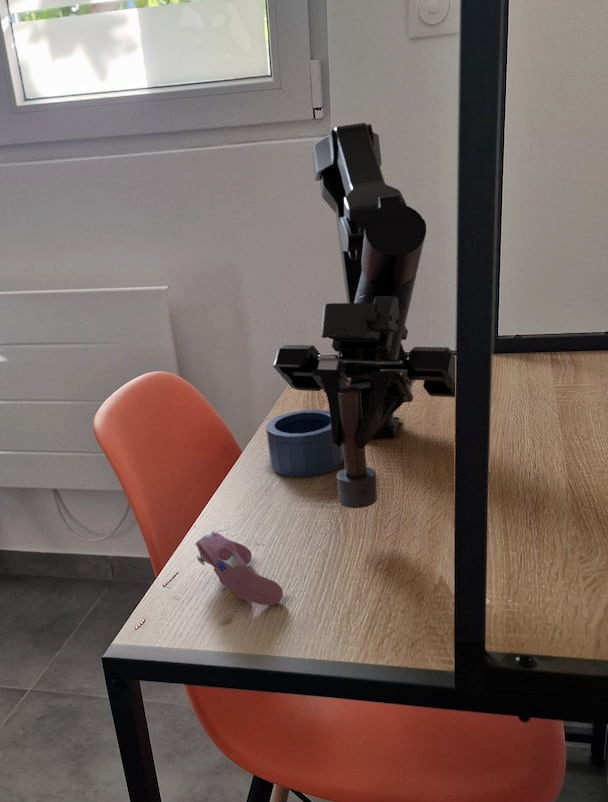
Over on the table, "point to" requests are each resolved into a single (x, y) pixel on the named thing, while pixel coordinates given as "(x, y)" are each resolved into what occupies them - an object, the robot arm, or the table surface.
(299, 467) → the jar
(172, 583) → the table surface
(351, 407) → the brown peg with base
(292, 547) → the table surface
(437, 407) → the table surface
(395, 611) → the table surface
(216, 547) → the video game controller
